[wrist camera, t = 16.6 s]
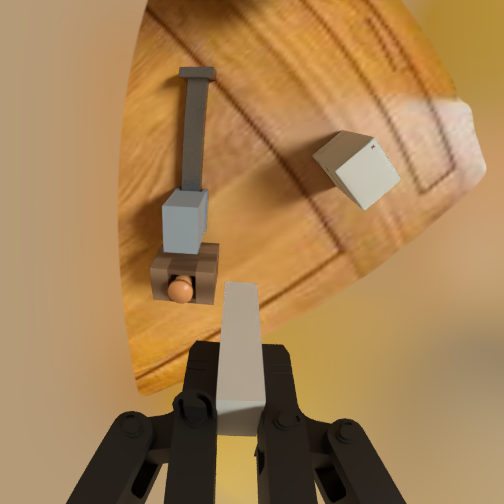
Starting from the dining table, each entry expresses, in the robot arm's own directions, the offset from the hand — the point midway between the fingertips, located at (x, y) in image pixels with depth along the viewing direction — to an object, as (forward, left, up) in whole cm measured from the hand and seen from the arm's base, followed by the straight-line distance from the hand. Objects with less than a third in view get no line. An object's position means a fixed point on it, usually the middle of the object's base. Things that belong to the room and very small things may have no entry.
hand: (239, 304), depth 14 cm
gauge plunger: (+17, -8, -29) cm, 34 cm away
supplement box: (-4, +16, -35) cm, 38 cm away
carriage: (+7, -8, -34) cm, 36 cm away
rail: (-1, -8, -34) cm, 35 cm away
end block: (+16, -8, -34) cm, 39 cm away
